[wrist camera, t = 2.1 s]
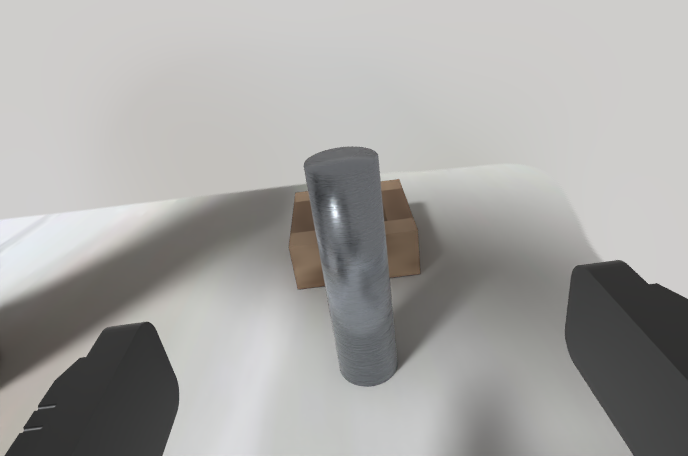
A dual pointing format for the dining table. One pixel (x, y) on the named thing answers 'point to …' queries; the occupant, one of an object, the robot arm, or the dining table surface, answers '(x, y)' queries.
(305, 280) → the wooden square socket block
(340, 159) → the rod
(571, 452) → the dining table surface
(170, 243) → the dining table surface
